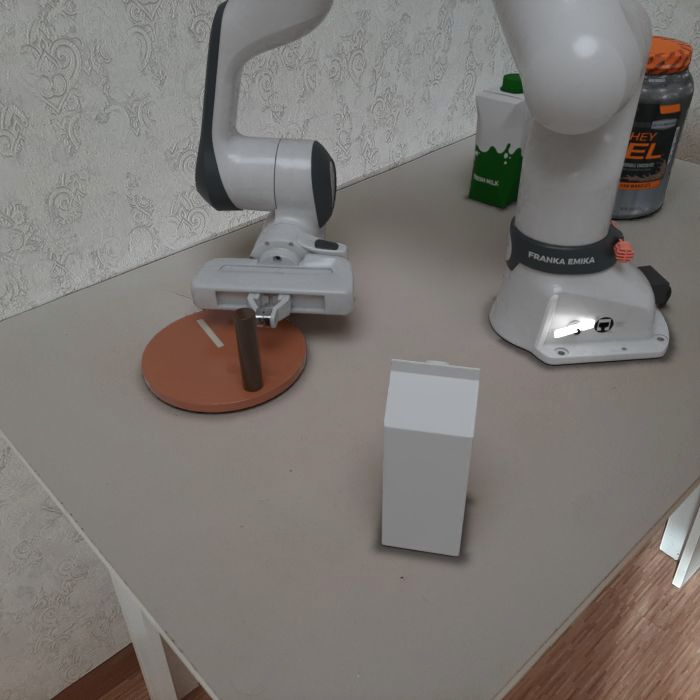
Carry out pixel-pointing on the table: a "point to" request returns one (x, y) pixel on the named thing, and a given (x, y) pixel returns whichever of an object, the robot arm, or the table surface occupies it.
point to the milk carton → (427, 454)
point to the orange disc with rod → (222, 360)
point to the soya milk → (500, 142)
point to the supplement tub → (656, 128)
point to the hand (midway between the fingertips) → (262, 323)
